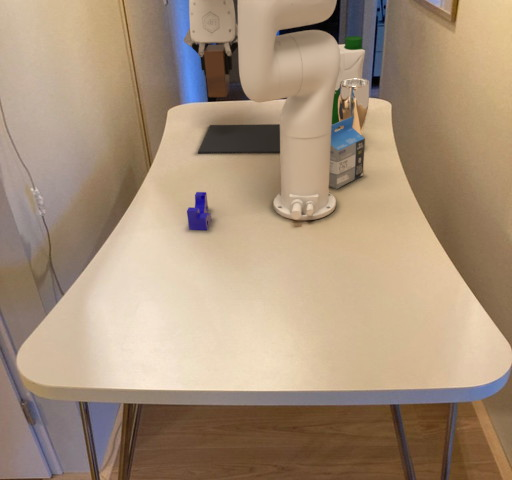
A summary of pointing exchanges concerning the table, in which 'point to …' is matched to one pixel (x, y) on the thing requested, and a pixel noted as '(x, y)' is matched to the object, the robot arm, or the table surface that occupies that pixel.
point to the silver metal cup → (353, 101)
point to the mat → (241, 139)
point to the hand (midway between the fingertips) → (217, 72)
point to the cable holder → (199, 213)
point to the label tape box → (345, 154)
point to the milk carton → (348, 67)
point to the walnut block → (216, 71)
